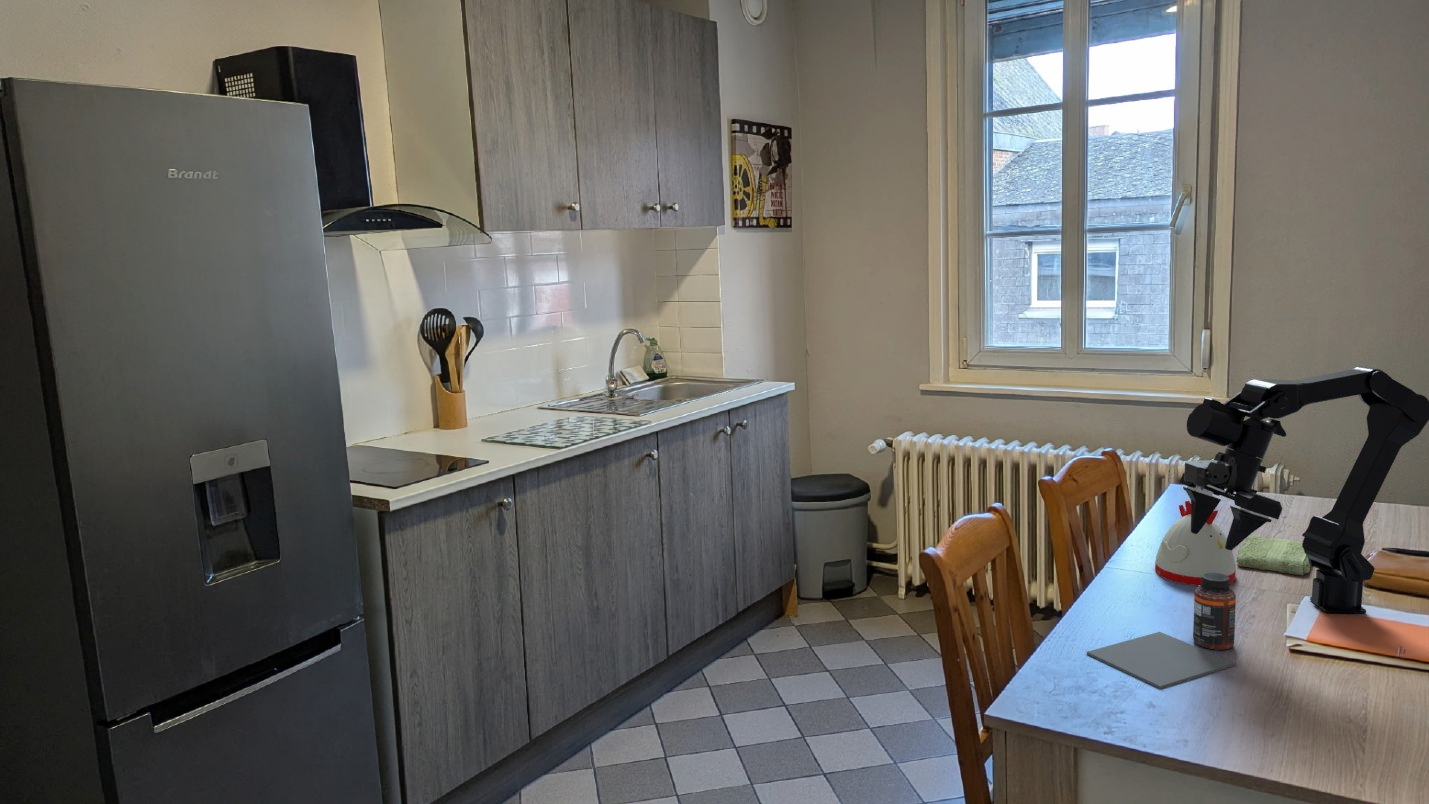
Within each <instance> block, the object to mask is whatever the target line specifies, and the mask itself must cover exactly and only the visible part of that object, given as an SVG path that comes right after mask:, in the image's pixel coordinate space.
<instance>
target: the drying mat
mask: <svg viewBox="0 0 1429 804" xmlns="http://www.w3.org/2000/svg"><path fill="white" fill-rule="evenodd" d="M1086 655H1088V656H1090V657H1091V658H1094V659H1096V660H1098V661H1101V662H1103V663H1104V664H1107V665H1109V666H1111V667H1113V668H1115V669H1118V670H1120V671H1121V672H1124V673H1126V674H1127V675H1130V676H1132V677H1135V678H1136V679H1139V680H1140V681H1143V682H1145V683H1148V684H1149V685H1151V686H1154V687H1155V688H1158V689H1160V690H1161V689H1164V688H1167V687H1170V686H1174V685H1177V684H1179V683H1183V682H1187V681H1189V680H1192V679H1196V678H1199V677H1202V676H1206V675H1208V674H1211V673H1216V672H1219V671H1222V670H1224V669H1228V668H1232V667H1235V666H1236V662H1234V661H1232V660H1230V659H1228V658H1225V657H1223V656H1219V654H1218V655H1217V654H1215V653H1212V652H1210V651H1208V650H1206V649H1203V648H1202V647H1201V648H1200V647H1198V646H1196V645H1193V644H1190V643H1188V642H1186V641H1183V640H1181V639H1179V638H1176V637H1173V636H1171V635H1169V634H1165V633H1164V632H1161V631H1157V632H1154V633H1149V634H1145V635H1142V636H1139V637H1136V638H1132V639H1129V640H1128V639H1127V640H1125V641H1121V642H1117V643H1115V644H1114V643H1113V644H1109V645H1107V646H1104V647H1099V648H1095V649H1092V650H1088V651H1086Z"/></svg>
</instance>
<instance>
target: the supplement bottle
mask: <svg viewBox="0 0 1429 804" xmlns="http://www.w3.org/2000/svg"><path fill="white" fill-rule="evenodd" d="M1229 581H1230V578H1229V577H1228V576H1227V575H1224V574H1221V573H1204V574H1202V580H1201V583H1202V585H1201V586H1197V587H1196V588H1195V590H1194V594H1193V595H1194V597H1193V623H1192V624H1193V626H1192V628H1193V629H1192V640H1193V641H1194V643H1195V644H1196V645H1198V646H1199V647H1201V648H1202V647H1203V648H1205V649H1208V650H1216V651H1220V650H1228V649H1232V647H1233V646H1234V644H1235V638H1236V637H1235V635H1236V633H1235V632H1236V608H1237V607H1236V601H1237V597H1236V593H1235V591H1234V590H1233V589H1231V588H1230V586H1231V585H1230V584H1231V583H1229Z"/></svg>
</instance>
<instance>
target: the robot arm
mask: <svg viewBox="0 0 1429 804" xmlns="http://www.w3.org/2000/svg"><path fill="white" fill-rule="evenodd" d="M1354 396H1358V398H1359V400H1360V401H1361V402H1362V403H1363V404H1365V405H1366V406H1367V407H1368V413H1367V415H1366V425H1367V432H1368V435H1367V438H1366V440H1365V442H1364V444H1363V446H1362V448H1361V450H1360V452H1359V454H1358V456H1357V458H1356V460H1355V463H1354V465H1353V466H1352V468H1351V470H1350V471H1349V474H1348V476H1347V478H1346V480H1345V482H1344V484H1343V486H1342V489H1341V490H1340V492H1339V494H1338V496H1337V498H1336V500H1335V502H1334V505H1333V506H1332V508H1331V510H1330V511H1329V512H1328V513H1326V514H1325V515H1324V516H1322V517H1321V516H1317V515H1313V516H1312V517H1311V518H1310V521H1309V523H1308V526H1307V529H1305V531H1304V532H1303V533H1302V534H1301V536H1302V537H1303V540H1302V542H1301V543H1302V547H1303V548H1304V552H1305V554H1306V555H1307V557H1308V560H1309V563H1310V567H1313V568H1316V572H1315V577H1314V578H1312V584H1311V585H1312V589H1311V596H1310V597H1309V600H1310V601H1311V602H1312V603H1313V604H1314V605H1316V606H1317V607H1318V606H1319V607H1318V608H1320V609H1321V610H1322V609H1323V610H1324V611H1323V610H1322V611H1323V612H1325V611H1326V612H1325V613H1327V612H1346V613H1345V614H1348V613H1347V612H1357V613H1356V614H1366V613H1367V609H1365V608H1364V607H1363V606H1362V603H1363V593H1364V591H1363V590H1364V581H1369V580H1371V579H1372V577H1373V575H1374V572H1375V569H1376V568H1375V566H1373V565H1372V563H1371V562H1370V561H1369V560H1368V559H1367V558H1366V557H1365V556H1364V555H1363V554H1362V552H1363V551H1364V550H1363V549H1364V547H1365V543H1366V538H1365V529H1364V523H1365V520H1366V518H1367V516H1368V514H1369V513H1370V510H1371V508H1372V506H1373V504H1374V502H1375V500H1376V498H1377V497H1378V495H1379V492H1380V490H1381V488H1382V486H1383V484H1384V482H1385V481H1386V478H1387V476H1388V475H1389V472H1390V470H1391V468H1392V467H1393V465H1394V462H1395V460H1396V458H1397V456H1398V454H1399V452H1400V450H1401V448H1402V447H1403V446H1404V445H1406V444H1408V443H1409V442H1410V441H1412V440H1413V439H1416V437H1417V436H1419V435H1420V434H1421V432H1422V431H1423V430H1424V427H1425V426H1426V425H1427V423H1428V422H1429V399H1428V398H1427V396H1425V395H1423V394H1420V393H1416V392H1415V391H1414V390H1413V389H1411V388H1409V387H1407V386H1405V385H1404V384H1403V383H1401V382H1399V381H1397V380H1396V379H1394V378H1392V377H1391V376H1390V375H1389V374H1387V373H1386V372H1384V370H1382V369H1379V368H1375V367H1367V366H1358V367H1354V368H1351V369H1347V370H1342V371H1336V372H1331V373H1326V374H1321V375H1316V376H1310V377H1305V378H1299V379H1291V380H1290V379H1287V380H1286V379H1271V378H1270V379H1267V378H1265V379H1264V378H1263V379H1262V378H1260V379H1258V378H1256V379H1252V380H1248V381H1246V382H1245V384H1244V386H1243V388H1242V389H1241V390H1240V391H1239V392H1238V393H1236V394H1235V395H1233V396H1232V397H1230V398H1229V399H1228V400H1226V401H1225V402H1223V403H1222V402H1220V401H1219V400H1217V399H1214V398H1209V397H1204V399H1203V402H1202V403H1201V404H1199V405H1198V406H1196V407H1195V408H1194V409H1193V410H1192V411H1191V413H1189V415H1188V417H1187V420H1186V430H1187V433H1188V435H1189V436H1190V437H1193V438H1196V439H1200V440H1202V441H1205V442H1208V443H1211V444H1214V445H1217V446H1220V447H1226V448H1225V451H1224V453H1223V452H1221V451H1218V452H1217V453H1216V454H1215V456H1214V459H1209V460H1208V459H1203V460H1188V461H1187V460H1186V461H1185V462H1184V470H1183V473H1182V476H1181V478H1180V479H1179V483H1180V484H1181V485H1184V486H1182V489H1183V491H1185V492H1186V494H1187V495H1188V498H1189V499H1190V503H1191V533H1194V534H1198V533H1199V531H1200V530H1201V529H1202V527H1203V526H1204V525H1205V523H1206V522H1207V520H1208V519H1209V517H1210V516H1211V514H1212V513H1213V512H1214V511H1216V508H1217V507H1218V505H1219V503H1221V501H1222V499H1220V498H1218V497H1216V496H1222V497H1223V498H1226V499H1229V500H1231V501H1233V502H1234V506H1232V505H1230V511H1231V513H1232V514H1231V515H1232V517H1233V518H1232V521H1231V523H1230V524H1231V525H1230V528H1229V532H1228V535H1227V541H1226V545H1225V548H1226V549H1228V550H1232V551H1233V550H1234V549H1236V547H1237V546H1239V545H1240V544H1241V543H1243V542H1244V541H1245V540H1246V539H1247V538H1248V537H1250V536H1251V534H1253V533H1254V532H1256V531H1257V530H1258V529H1259V528H1261V527H1262V526H1264V525H1266V523H1272V521H1273V520H1272V519H1275V520H1278V521H1279V519H1280V516H1281V515H1282V511H1283V505H1282V503H1281V502H1280V501H1278V500H1275V499H1272V498H1270V497H1268V496H1264V495H1262V494H1258V493H1257V492H1258V490H1256V489H1254V487H1253V486H1254V484H1255V482H1256V479H1257V477H1258V474H1259V472H1260V473H1263V474H1265V473H1266V470H1267V466H1263V462H1264V458H1265V457H1266V454H1267V451H1268V448H1269V446H1270V443H1271V441H1272V438H1273V435H1275V436H1278V437H1279V436H1280V437H1283V438H1285V437H1287V431H1285V428H1283V426H1282V424H1281V423H1282V422H1281V421H1280V420H1279V419H1281V418H1285V417H1288V416H1290V415H1292V414H1295V413H1297V412H1299V411H1301V409H1302V408H1303V407H1306V406H1309V405H1311V404H1317V403H1322V402H1327V401H1334V400H1339V399H1344V398H1348V397H1349V398H1350V397H1354ZM1246 418H1247V419H1246ZM1267 418H1270V419H1267ZM1266 419H1267V420H1266ZM1185 486H1186V487H1185ZM1225 489H1226V490H1225ZM1213 495H1215V496H1213ZM1235 506H1237V507H1235ZM1238 507H1239V508H1238Z"/></svg>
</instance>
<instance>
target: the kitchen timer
mask: <svg viewBox="0 0 1429 804" xmlns="http://www.w3.org/2000/svg"><path fill="white" fill-rule="evenodd" d="M1184 505H1185V506H1184ZM1178 508H1179V513H1180V516H1181V517H1180V518H1179V519H1177V520H1175V522H1174V523H1173V524H1172V525H1171V526H1170V527H1169V528H1168V530H1167V531H1166V533H1165V534H1164V536H1163V538H1162V539H1161V542H1160V545H1159V548H1158V550H1157V553H1156V556H1155V561H1154V571H1155V573H1156V574H1157V575H1158V574H1159V576H1160V577H1161V578H1163V577H1164V579H1166V580H1167V581H1171V580H1172V582H1175V583H1179V584H1183V585H1184V584H1185V585H1188V586H1189V585H1191V586H1198V585H1200V586H1201V585H1202V583H1201V580H1202V574H1204V573H1221V574H1224V575H1227V576H1228V577H1229V578H1230V581H1229V583H1230V584H1231V583H1232V582H1234V581H1235V579H1236V572H1237V571H1236V570H1237V568H1236V561H1235V557H1234V553H1233V550H1228V549H1226V548H1225V545H1226V541H1227V537H1228V535H1226V534H1225V532H1224V531H1223V529H1221V527H1220V526H1219V525H1218V524H1217V522H1215V519H1216V517H1217V515H1218V512H1219V510H1218V509H1217V510H1216V509H1215V510H1214V511H1213V513H1212V514H1211V516H1210V517H1209V519H1208V520H1207V522H1206V523H1205V525H1204V526H1203V527H1202V529H1201V530H1200V531H1199V533H1198V534H1194V533H1191V500H1186V501H1184V504H1180V505H1178Z"/></svg>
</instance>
